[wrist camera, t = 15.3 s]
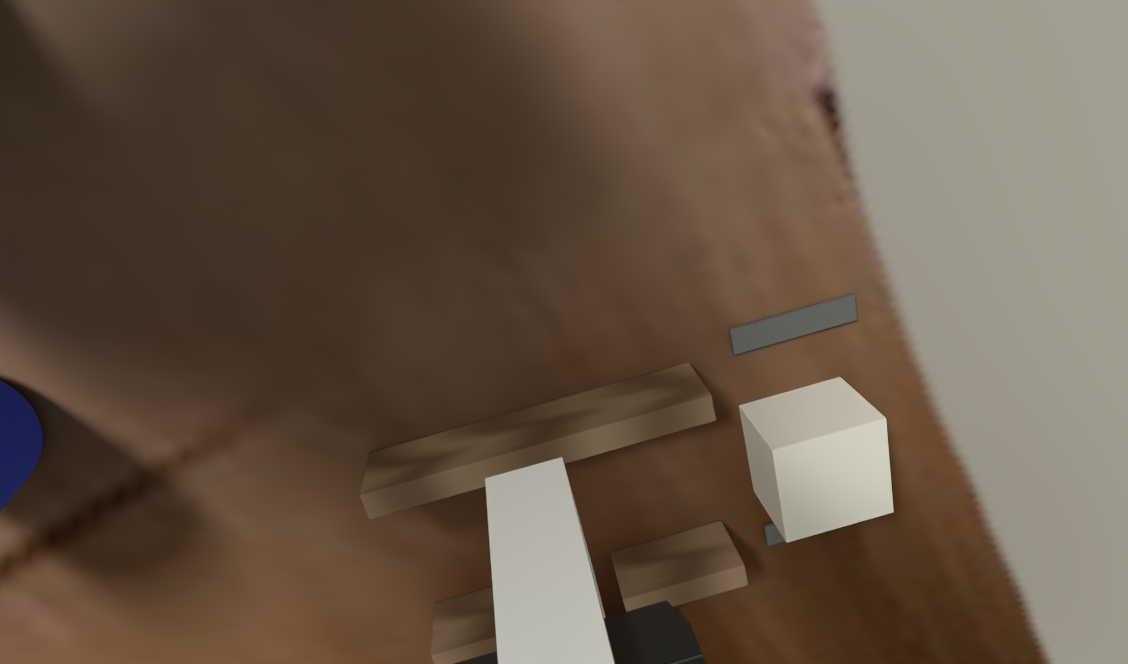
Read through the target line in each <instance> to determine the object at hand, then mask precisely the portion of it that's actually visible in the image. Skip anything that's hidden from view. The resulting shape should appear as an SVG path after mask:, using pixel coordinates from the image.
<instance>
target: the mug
mask: <svg viewBox="0 0 1128 664" xmlns="http://www.w3.org/2000/svg"><path fill="white" fill-rule="evenodd" d="M42 445H43V434H42V428H41V424H40V421H39V419H38V417H37V414H36V413H35V411H34V409H33V408H32V406H31V405H30V404H29V403H28V401H27V400H26V399H25V398H24V397H23V396H22V395H21V394H20V393H19V392H17V391H16V390H15V389H13V388H12V387H11V386H9V385H8V384H6V383H4V382H2V381H0V511H1V510H2V508H3V507H4V506H5V505H6V504H7V502H8V501H9V500H10V499H11V498H12V496H13V495H14V494H15V493H16V492H17V491H18V489H19V488H20V487H21V486H22V485H23V483H24V482H25V481H26V480H27V478H28V477H29V476H30V474H31V473H32V471H33V470H34V468H35V466H36V464H37V462H38V460H39V457H40V454H41V450H42Z"/></svg>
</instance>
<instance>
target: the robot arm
mask: <svg viewBox="0 0 1128 664" xmlns="http://www.w3.org/2000/svg"><path fill="white" fill-rule="evenodd" d="M485 485H486V499H487V513H488V528H489V542H490V556H491V570H492V585H493V599H494V613H495V628H496V642H497V651H496V652H492V653H489V654H485V655H482V656H478V657H475V658H471V659H468V660H464V661H461V662H457V663H454V664H706V663H705V660H704V659H703V656H702V653H701V650H700V648H699V645H698V642H697V640H696V637H695V635H694V632H693V630H692V627H691V625H690V622H689V621H688V620H687V619H685V618H684V617H683V616H682V615H681V614H680V613H679V612H678V611H677V610H676V609H675V608H674V607H673V606H672V605H671V604H670V603H669V602H668V601H667V600H665V601H662V602H659V603H655V604H652V605H648V606H645V607H641V608H638V609H634V610H631V611H627V612H624V613H620V614H617V615H613V616H610V617H605V613H604V609H603V605H602V601H601V597H600V594H599V590H598V586H597V582H596V578H595V574H594V570H593V566H592V563H591V559H590V555H589V552H588V548H587V545H586V541H585V537H584V534H583V530H582V527H581V523H580V519H579V516H578V512H577V509H576V505H575V501H574V498H573V494H572V491H571V487H570V483H569V480H568V476H567V473H566V469H565V465H564V462H563V458H562V457H560V458H557V459H553V460H550V461H546V462H542V463H539V464H535V465H532V466H528V467H524V468H521V469H517V470H514V471H510V472H506V473H503V474H499V475H496V476H492V477H489V478H485Z"/></svg>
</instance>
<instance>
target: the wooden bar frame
mask: <svg viewBox="0 0 1128 664" xmlns="http://www.w3.org/2000/svg"><path fill="white" fill-rule="evenodd" d="M713 421H716V417H715V412H714V406H713V401H712V396H711V394H710V392H709V391H708V389H707V388H706V386H705V385H704V384H703V382H702V381H701V379H700V378H699V376H698V375H697V373H696V372H695V370H694V369H693V368H692V366H691V365H690V363H689V362H687V363H683V364H680V365H676V366H673V367H669V368H666V369H662V370H659V371H655V372H652V373H648V374H644V375H641V376H637V377H634V378H630V379H627V380H623V381H620V382H616V383H613V384H609V385H606V386H602V387H599V388H595V389H592V390H588V391H585V392H581V393H578V394H574V395H571V396H567V397H564V398H560V399H557V400H553V401H550V402H546V403H543V404H539V405H536V406H532V407H529V408H525V409H522V410H518V411H515V412H511V413H508V414H504V415H501V416H497V417H493V418H490V419H486V420H483V421H479V422H476V423H472V424H469V425H465V426H462V427H458V428H455V429H451V430H448V431H444V432H441V433H437V434H434V435H430V436H427V437H423V438H420V439H416V440H413V441H409V442H406V443H402V444H399V445H395V446H392V447H388V448H385V449H381V450H378V451H374V452H371V453H370V455H369V459H368V463H367V467H366V471H365V475H364V478H363V482H362V486H361V490H360V494H359V496H360V498H361V501H362V503H363V505H364V507H365V510H366V512H367V514H368V516H369V519H374V518H377V517H381V516H384V515H388V514H391V513H395V512H398V511H402V510H405V509H408V508H412V507H415V506H419V505H422V504H426V503H429V502H433V501H436V500H440V499H443V498H447V497H450V496H454V495H457V494H461V493H464V492H468V491H471V490H475V489H478V488H482V487H485V486H486V485H485V478H489V477H492V476H496V475H499V474H503V473H506V472H510V471H514V470H517V469H521V468H524V467H528V466H532V465H535V464H539V463H542V462H546V461H550V460H553V459H557V458H560V457H562V458H563V462H564V464H566V463H569V462H573V461H576V460H580V459H583V458H587V457H590V456H594V455H597V454H601V453H604V452H608V451H611V450H615V449H618V448H622V447H625V446H629V445H632V444H636V443H639V442H643V441H646V440H650V439H653V438H657V437H660V436H664V435H667V434H671V433H674V432H678V431H681V430H685V429H688V428H692V427H695V426H699V425H702V424H706V423H709V422H713ZM610 555H611V558H612V562H613V566H614V569H615V573H616V577H617V580H618V584H619V588H620V591H621V595H622V599H623V602H624V606H625V609H626V612H627V611H631V610H634V609H638V608H641V607H645V606H648V605H652V604H655V603H659V602H662V601H665V600H667V601H668V602H669V603H670V604H671V605H672V606H673V607H674V606H678V605H681V604H685V603H688V602H692V601H695V600H698V599H702V598H705V597H709V596H712V595H716V594H719V593H723V592H726V591H729V590H733V589H736V588H740V587H743V586H747V585H748V581H747V576H746V571H745V566H744V563H743V561H742V559H741V557H740V556H739V554H738V552H737V550H736V548H735V546H734V544H733V542H732V540H731V538H730V537H729V535H728V533H727V531H726V529H725V527H724V525H723V523H722V521H717V522H714V523H710V524H707V525H704V526H700V527H697V528H693V529H690V530H686V531H683V532H679V533H676V534H672V535H669V536H665V537H662V538H658V539H655V540H651V541H648V542H645V543H641V544H638V545H634V546H631V547H627V548H624V549H620V550H617V551H613V552H610ZM496 651H497V642H496V628H495V613H494V599H493V586H492V587H488V588H485V589H482V590H478V591H475V592H471V593H468V594H464V595H461V596H457V597H454V598H450V599H447V600H443V601H440V602H436V603H434V614H433V629H432V643H431V657H432V660H433V662H434V664H454V663H457V662H461V661H464V660H468V659H471V658H475V657H478V656H482V655H485V654H489V653H492V652H496Z"/></svg>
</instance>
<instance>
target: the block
mask: <svg viewBox="0 0 1128 664" xmlns="http://www.w3.org/2000/svg"><path fill="white" fill-rule="evenodd" d="M739 410H740V416H741V421H742V427H743V433H744V439H745V444H746V450H747V456H748V462H749V467H750V473H751V479H752V485H753V490H754V492H755V494H756V495H757V497H758V499H759V500H760V502H761V503H762V505H763V506H764V508H765V510H766V511H767V513H768V514H769V516H770V517H771V519H772V521H773V522H774V524H775V525H776V527H777V529H778V530H779V532H780V533H781V535H782V536H783V538H784V540H785V541H786V543H788V542H791V541H795V540H798V539H802V538H805V537H809V536H812V535H816V534H819V533H823V532H826V531H830V530H833V529H837V528H840V527H844V526H847V525H851V524H854V523H858V522H861V521H865V520H869V519H872V518H876V517H879V516H883V515H886V514H890V513H893V512H894V510H893V498H892V485H891V473H890V461H889V448H888V436H887V424H886V418H885V417H884V416H883V415H882V414H881V413H880V412H879V411H878V410H877V409H875V408H874V407H873V406H872V405H871V404H870V403H869V402H868V401H866V400H865V399H864V398H863V397H862V396H861V395H860V394H859V393H858V392H856V391H855V390H854V389H853V388H852V387H851V386H850V385H849V384H848V383H846V382H845V381H844V380H843V379H842V378H841V377H838V378H834V379H831V380H827V381H824V382H820V383H817V384H813V385H810V386H806V387H802V388H799V389H795V390H792V391H788V392H785V393H781V394H778V395H774V396H771V397H767V398H764V399H760V400H756V401H753V402H749V403H746V404H742V405H739Z"/></svg>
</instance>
